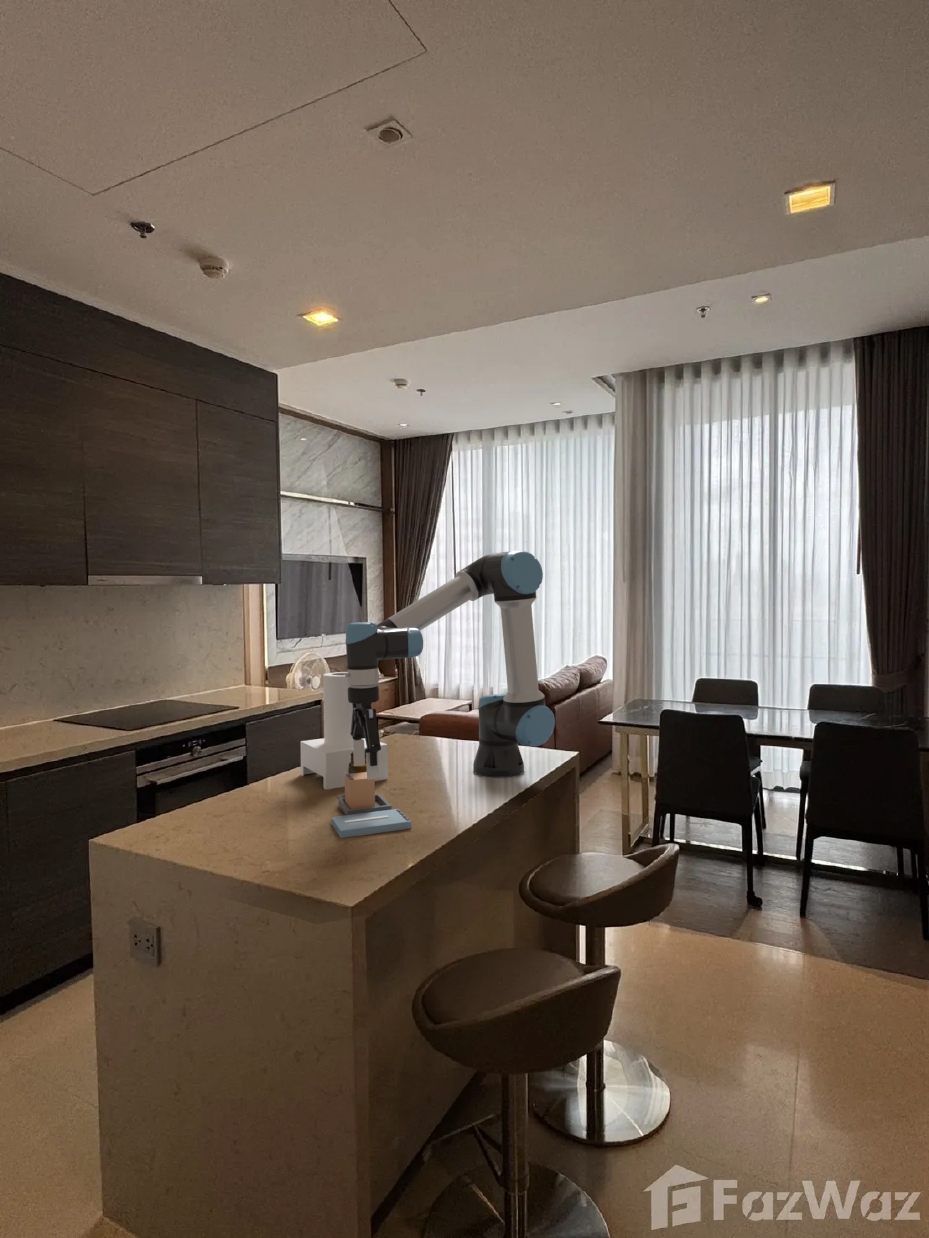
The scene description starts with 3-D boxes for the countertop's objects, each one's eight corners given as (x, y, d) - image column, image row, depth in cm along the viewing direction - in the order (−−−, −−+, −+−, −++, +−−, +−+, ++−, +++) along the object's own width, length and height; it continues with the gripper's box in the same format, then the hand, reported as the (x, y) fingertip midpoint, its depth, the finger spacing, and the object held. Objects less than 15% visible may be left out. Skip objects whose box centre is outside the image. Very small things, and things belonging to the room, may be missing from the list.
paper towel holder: (387, 779, 197) (386, 674, 196) (326, 789, 187) (324, 679, 186) (359, 765, 213) (358, 669, 212) (300, 775, 202) (299, 673, 201)
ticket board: (398, 815, 164) (398, 807, 164) (411, 828, 155) (411, 820, 155) (331, 823, 158) (331, 816, 158) (340, 838, 149) (340, 829, 149)
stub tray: (379, 801, 175) (379, 793, 175) (391, 813, 166) (391, 805, 165) (338, 806, 171) (338, 798, 171) (347, 819, 162) (347, 810, 161)
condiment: (378, 798, 178) (378, 752, 178) (348, 804, 174) (347, 757, 173) (366, 792, 184) (366, 747, 184) (337, 797, 180) (336, 751, 179)
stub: (368, 803, 172) (368, 770, 172) (374, 810, 166) (374, 776, 166) (345, 806, 170) (344, 773, 169) (350, 813, 164) (350, 779, 164)
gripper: (337, 680, 177) (340, 762, 178) (360, 693, 154) (363, 787, 155) (365, 678, 180) (368, 758, 181) (392, 691, 157) (395, 782, 158)
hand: (366, 772), depth 168 cm, fingers open, 13 cm apart
